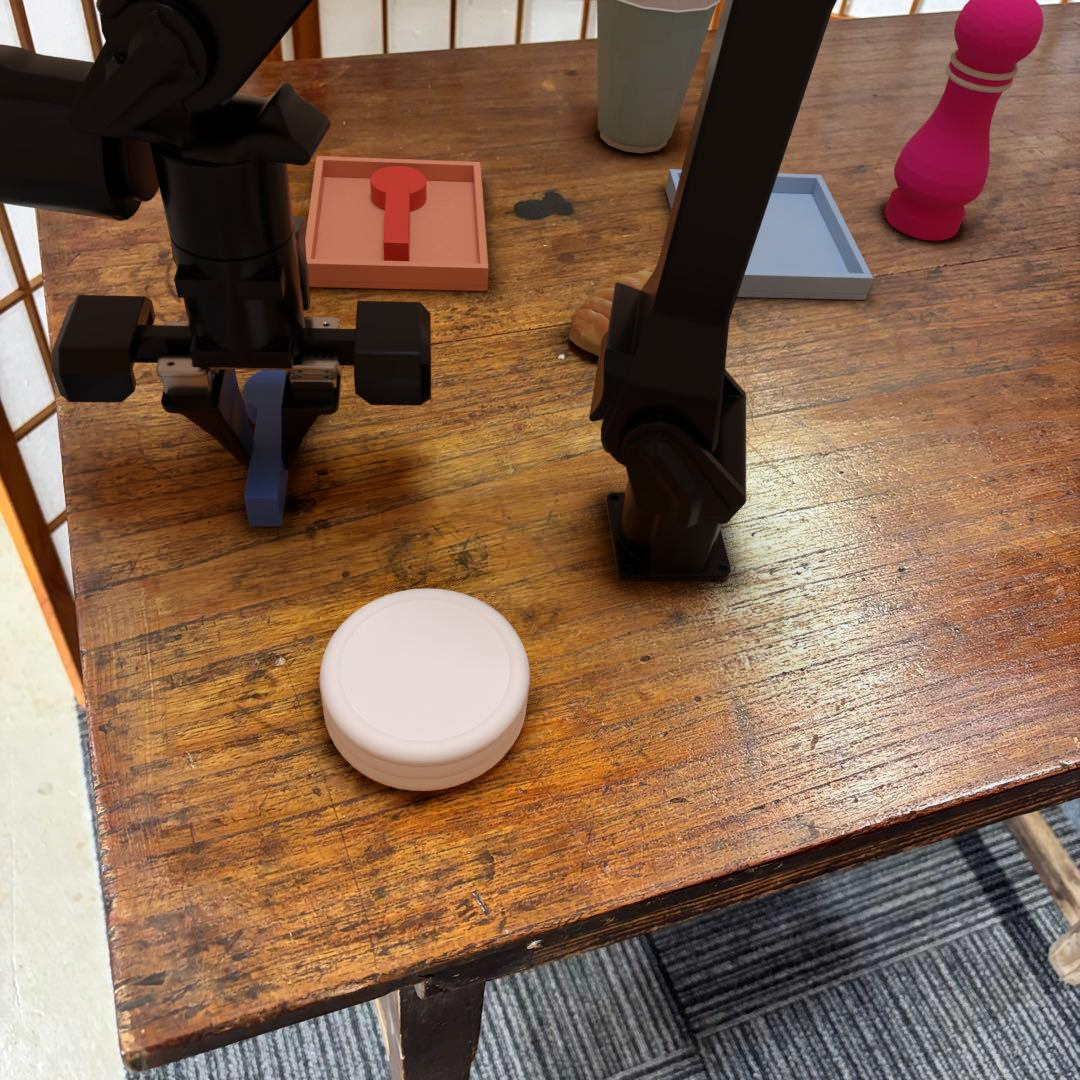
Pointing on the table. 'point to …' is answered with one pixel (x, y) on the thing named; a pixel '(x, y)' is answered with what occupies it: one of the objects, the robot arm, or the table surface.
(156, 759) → the table surface
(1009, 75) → the pepper mill
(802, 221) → the blue tray
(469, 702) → the white round tin
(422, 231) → the red tray
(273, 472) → the blue spoon
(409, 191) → the red spoon
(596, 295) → the pastry
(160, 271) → the table surface
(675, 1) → the disposable coffee cup
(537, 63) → the table surface
